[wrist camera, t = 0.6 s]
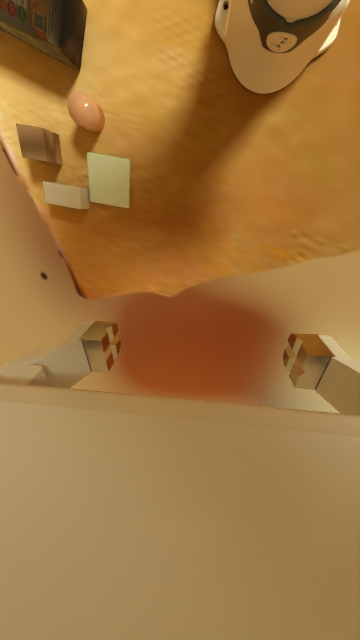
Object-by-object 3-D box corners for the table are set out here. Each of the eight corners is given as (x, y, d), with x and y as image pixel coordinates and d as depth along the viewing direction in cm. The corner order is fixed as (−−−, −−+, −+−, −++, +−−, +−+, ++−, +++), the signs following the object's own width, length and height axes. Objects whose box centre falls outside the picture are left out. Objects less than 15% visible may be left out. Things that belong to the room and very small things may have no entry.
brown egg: (81, 100, 39) (66, 88, 35) (104, 104, 39) (91, 92, 35) (83, 130, 41) (69, 123, 37) (105, 134, 41) (93, 127, 37)
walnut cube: (35, 130, 42) (15, 123, 38) (58, 135, 42) (42, 128, 38) (40, 161, 45) (22, 157, 41) (62, 165, 45) (47, 161, 40)
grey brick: (56, 202, 49) (45, 202, 45) (54, 182, 47) (42, 181, 43) (90, 208, 49) (81, 209, 45) (88, 188, 47) (79, 188, 43)
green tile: (88, 152, 43) (86, 151, 42) (130, 159, 43) (129, 159, 42) (91, 201, 48) (90, 201, 47) (129, 208, 48) (128, 208, 47)
